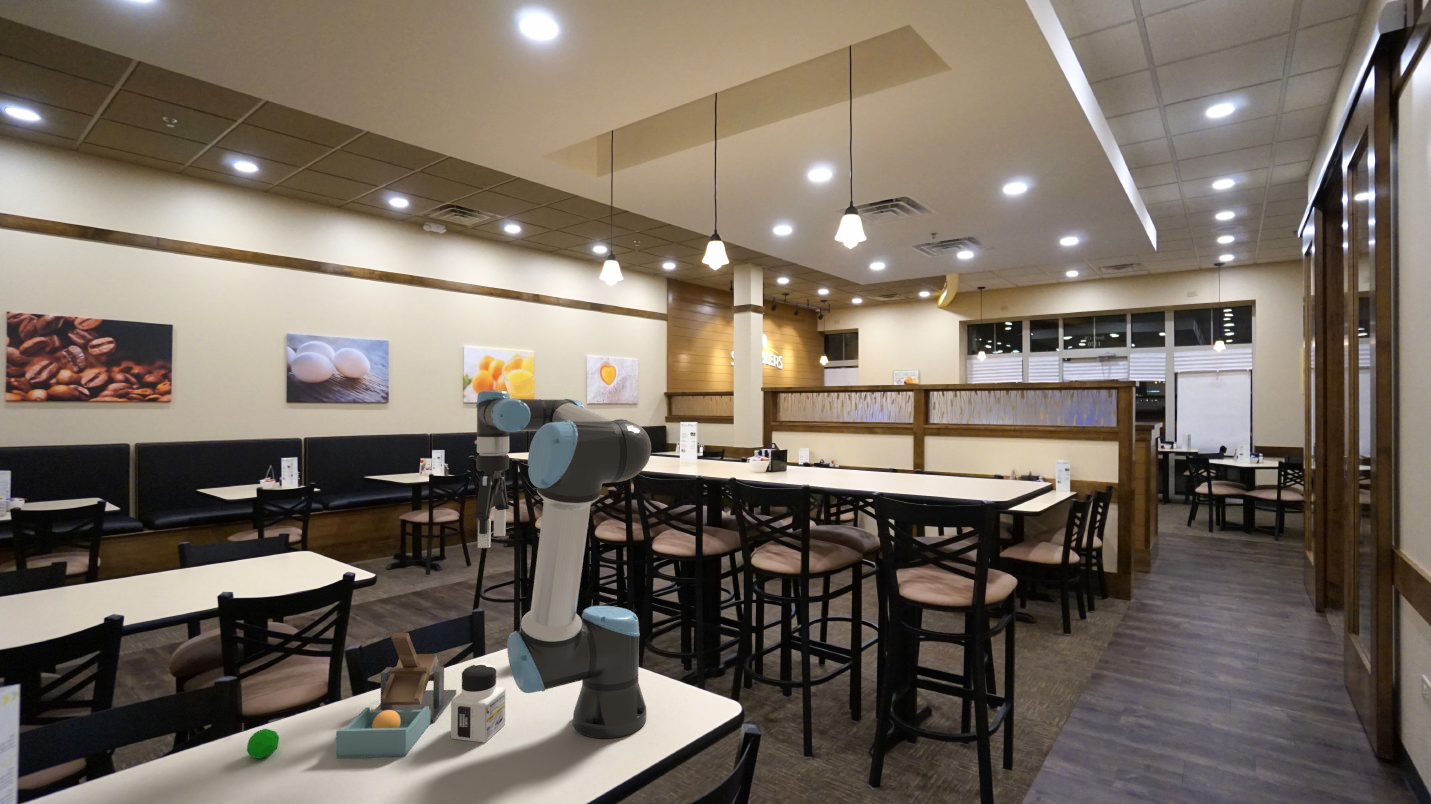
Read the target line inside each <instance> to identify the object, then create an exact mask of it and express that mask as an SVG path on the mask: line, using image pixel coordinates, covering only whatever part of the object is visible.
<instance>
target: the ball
mask: <svg viewBox="0 0 1431 804" xmlns="http://www.w3.org/2000/svg"><path fill="white" fill-rule="evenodd" d="M400 723H401V720H400V716H399V715H398V713H397V712H395V711H393V710H386V711H383V712H381V713H379V714H378V715H377V716H376V718H375V719H374V721H373V724H372V728H399V727H400Z"/></svg>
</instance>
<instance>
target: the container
mask: <svg viewBox="0 0 1431 804" xmlns="http://www.w3.org/2000/svg"><path fill="white" fill-rule="evenodd" d="M505 725H506V688H505V687H501V686H499V687H498V686H497V668H496V667H495V666H494V665H492V664H489V663H483V662H482V663H476V664H472V665H470V666H468V667H466V668H464V670H463V671H462V672H461V692H460V693H459V694H458V695H457V696H455V697H454V698H453V699H452V700H451V702H450V739H452V740H453V739H454V740H458V741H459V740H460V741H467V742H477V743H487V742H488V741H489V740H490V739H491V738H492V737H493V736H494V735H495V734H496V733H498V731H500V730H501V729H502V728H503V727H504V726H505Z"/></svg>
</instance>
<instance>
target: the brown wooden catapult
mask: <svg viewBox="0 0 1431 804" xmlns="http://www.w3.org/2000/svg"><path fill="white" fill-rule="evenodd" d="M391 641H392V644H393V647H394V649H395V651H396V653H397V656H398V661H397V664H396V666H395V667H393V668H391V670H390V672H391V675H390V678H389V680H388V683H387V685H386V688H385V691H384V693H383V696H382V698H381V697H380V700H381V699H382V701H383V704H384V705H419V704H421V702H422V699H423V696H424V693H425V690H426V689H427V686H428V684H429V682H434V671H435V670H436V669H437V668H438V667H439V666H440V661H439V659H438V657H437V654H436V653H417V652H416V649H415V647H414V644H413V641H412V640H411V636H410V634H409V632H392V635H391Z"/></svg>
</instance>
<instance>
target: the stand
mask: <svg viewBox="0 0 1431 804" xmlns="http://www.w3.org/2000/svg"><path fill="white" fill-rule="evenodd" d="M391 668H394V667H392V666H389V667H388V666H387V667H385V669H383V670H382V671H381V672H380V703H379V705H378V706H377V707H376V708H375V709H374V710H422V709H423V708H424V707H425V706H429V709H430V724H431V723H432V724H434V723H436V722H437V720H439V718H440V717H441V715H442V714H443V712H444V711H445V710H446V708H447V707H448V706H449V705H450V704H451V701H452V699H454V698H455V697H456V695H457V689H445V666H440V665H439V667H438V668H437V669H436V670H435V671H434V681H432V682H433V688H432V689H430V690H429V689H427V690H425V693H424V696H423V699H422V702H421V704H419V705H384V704H383V701H382V699H381V698H382V696H383V693H384V691H385V688H386V685H387V683H388V680H389V678H390V675H391V672H390V670H391Z"/></svg>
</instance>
